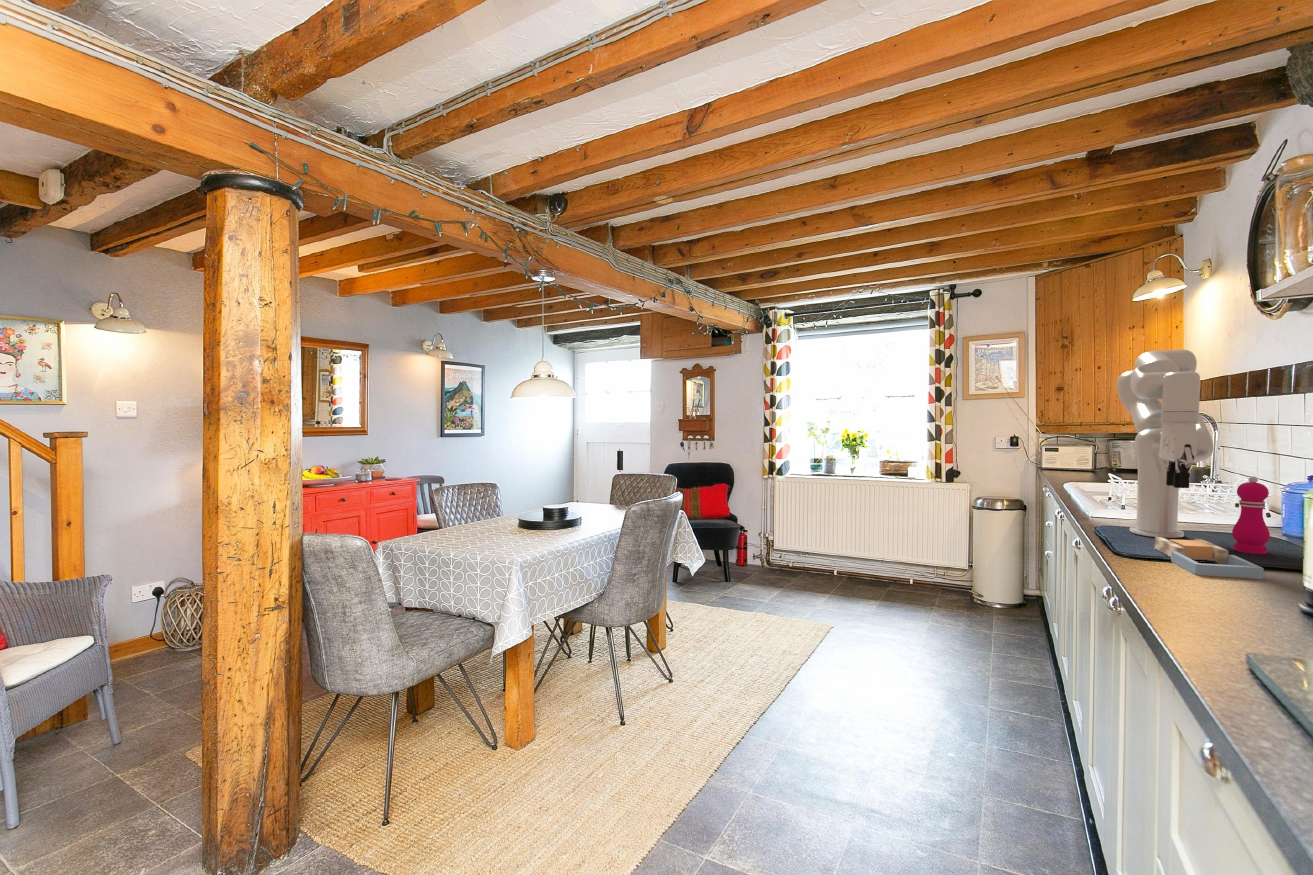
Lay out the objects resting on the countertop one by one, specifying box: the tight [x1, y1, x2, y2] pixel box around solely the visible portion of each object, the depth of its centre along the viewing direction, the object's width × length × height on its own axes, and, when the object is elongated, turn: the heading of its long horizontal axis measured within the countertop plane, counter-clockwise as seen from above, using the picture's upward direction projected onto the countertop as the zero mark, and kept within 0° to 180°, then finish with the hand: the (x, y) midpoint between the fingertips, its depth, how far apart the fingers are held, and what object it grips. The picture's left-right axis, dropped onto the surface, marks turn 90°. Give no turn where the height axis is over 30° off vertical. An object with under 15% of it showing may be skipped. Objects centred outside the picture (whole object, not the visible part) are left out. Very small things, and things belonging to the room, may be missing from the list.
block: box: [1168, 538, 1213, 559], centre depth 156 cm, size 7×6×4 cm
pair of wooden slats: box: [1154, 537, 1230, 565], centre depth 157 cm, size 13×10×4 cm
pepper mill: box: [1231, 475, 1271, 555], centre depth 160 cm, size 7×7×20 cm
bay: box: [1170, 552, 1265, 580], centre depth 145 cm, size 12×12×2 cm
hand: (1177, 486), depth 163 cm, fingers open, 3 cm apart
